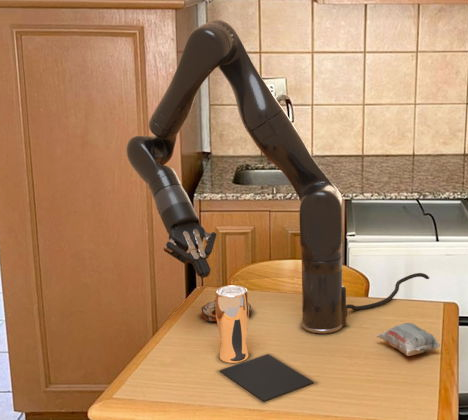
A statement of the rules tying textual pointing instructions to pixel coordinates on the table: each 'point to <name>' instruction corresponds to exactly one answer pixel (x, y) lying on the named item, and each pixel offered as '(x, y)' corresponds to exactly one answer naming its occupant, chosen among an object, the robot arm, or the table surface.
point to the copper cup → (232, 322)
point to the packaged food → (409, 339)
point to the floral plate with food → (213, 311)
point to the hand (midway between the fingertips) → (205, 275)
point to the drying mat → (266, 377)
